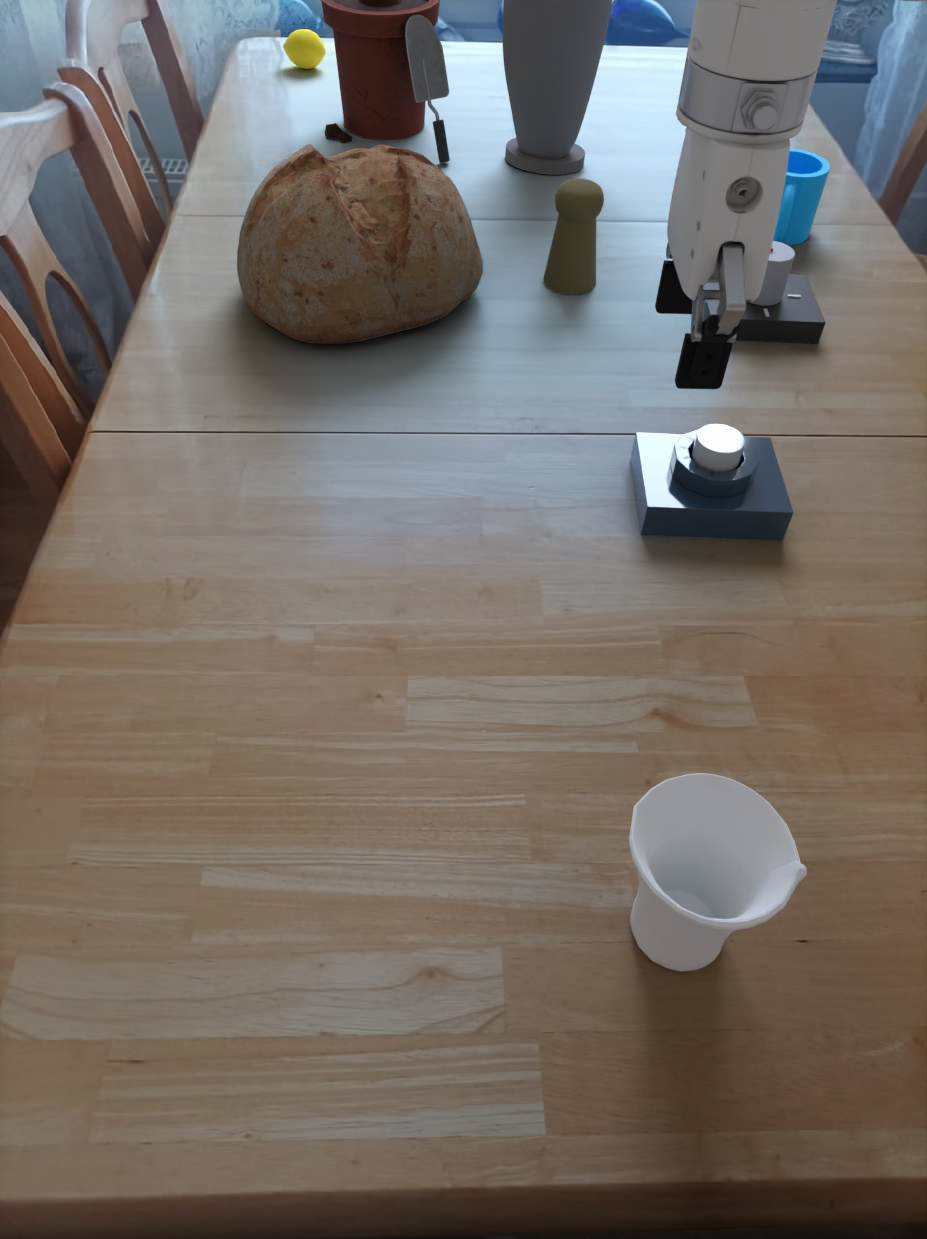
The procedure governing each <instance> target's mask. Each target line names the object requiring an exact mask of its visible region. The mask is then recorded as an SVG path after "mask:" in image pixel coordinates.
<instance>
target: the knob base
mask: <svg viewBox="0 0 927 1239" xmlns="http://www.w3.org/2000/svg"><path fill="white" fill-rule="evenodd" d="M703 290H719V283H706V284H705V286H703ZM718 306H719V303H705V306H704V321H705V320H706V319H707V318H708V317H709V316H710V315H712V314H713V315H716V314H717V308H718ZM740 321H741V322H740V323H739V325H741V326H740V329H739V330H738V331H737V336H736V340H735V341H747V342H748V341H752V342H772V343H773V342H775V343H794V344H795V343H797V344H800V343H801V344H819V343H820V340H821V337H822V335H823V332H824V329H825V326H826V323H827V322H826V320H825V317H824V315H823V313H822V311H821V308H820V306H819V304H818V301H817V299H816V297H815V294H814V292H813V289H812V287H811V285H810V282H809V280H808V278H807V276H806V274H795V273H789V277H788V280H787V283H786V286H785V290H784V293H783V296H782V299H781V301H780V302H779V303H777V304H775V305H770V306H761V305H755V304H752V303H749V302H747V301H746V310H745V313H744V315H743V317H742V318H741V320H740Z"/></svg>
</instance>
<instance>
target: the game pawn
mask: <svg viewBox="0 0 927 1239" xmlns="http://www.w3.org/2000/svg"><path fill="white" fill-rule="evenodd" d="M604 202H605V194H604V191H603V188H602V186H600V185H599V184H598V183H597V182H595V181H593V180H591V179H587V178H580V177H579V178H578V177H576V178H571V179H567V180H565V181H563V182H562V183H561V184H560V185H559V186H558V188H557V190H556V192H555V195H554V206H555V210H556V212H557V214H558V215H557V220H556V224H555V227H554V231H553V236H552V240H551V244H550V247H549V248H550V249H549V253H548V257H547V260H546V265H545V269H544V273H543V278H542V280H543V284H544V285H545V287H546V288H548V289H549V290H551V291H553V292H555V293H558V294H563V295H568V296H569V295H570V296H571V295H572V296H577V295H583V294H586V293H589V292H592V290H594V289H595V287H596V285H597V218H598V216H600V214H601V212H602V210H603V207H604V204H605V203H604Z"/></svg>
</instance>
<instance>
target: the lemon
mask: <svg viewBox="0 0 927 1239" xmlns="http://www.w3.org/2000/svg"><path fill="white" fill-rule="evenodd" d="M324 44H325V43H324V42H323V40H322V38H321V37H320V36H319V34H318V33H317V32H315V31H313V30H311V29H308V28H299V29H296V30H295V31H292V32H291V33H290V34H289V35H288V37H287V38H286V40H285V41H284V42H283V45H282V48H283V50H284V52H285V54H286V56H287V57H288V59H289V60H290V62H291V63H292V64H294V65H295V66H296V67H298V68H300V69H305V70H311V69H314V68H316V67H317V66H319V65H320V64H321V63H322V61H323V60H324V58H325V55H326V47H325V45H324Z"/></svg>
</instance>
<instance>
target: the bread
mask: <svg viewBox="0 0 927 1239" xmlns="http://www.w3.org/2000/svg"><path fill="white" fill-rule="evenodd" d="M473 225H474V224H473V221H472V218H471V216H470V214H469V211H468V209H467V206H466V203H465V201H464V199H463V196H462V195H461V193H460V191H459V189H458V188H457V186H456V184H455V183H454V181H453V180H452V179H451V177H450V176H448V175H446V174H445V173H444V171H443V170H441V169H440V168H439V167H438V166H437V165H436V164H435V163H433V162H432V161H431V160H430V159H428V157H426V156H425V155H423V154H421V153H418V152H417V151H414V150H411V149H408V148H403V147H395V146H391V145H386V144H377V145H375V146H373V147H370V148H366V147H364V148H363V147H362V148H353V149H350V150H346V151H343V152H339V153H336V154H333V155H330V156H326V155H325V154H324V153H322V152H320V151H319V150H318V149H316V148H315V147H314V146H313V144H311V143H309V144H308V143H307V144H306V145H303V146H302V147H300V148H299V150H297V151H295V152H294V153H293V154H291V155H289V156H288V157H287V158H285V159H284V160H282V161H281V162H279V163H278V164H276V165H275V166H273V168H272V169H271V170H270V171H269V172H268V174H267V175H266V176H265V177H264V178H263V180H262V181H261V182H260V184H259V185H258V186H257V188H256V189H255V191H254V193H253V195H252V197H251V199H250V200H249V203H248V206H247V208H246V211H245V213H244V217H243V220H242V223H241V227H240V230H239V237H238V244H237V250H236V251H237V252H236V271H237V277H238V282H239V286H240V289H241V293H242V296H243V298H244V300H245V302H246V303H247V305H248V307H249V308H250V310H251V311H252V313H253V314H254V315H255V317H257V318H259V319H260V320H261V321H262V322H264V323H266V324H267V325H269V326H270V327H272V328H274V329H276V330H277V331H279V332H281V333H282V334H284V335H286V337H287V336H288V337H289V338H291V339H294V340H297V341H300V342H303V343H307V344H321V345H322V344H323V345H330V344H331V345H341V344H349V343H358V342H360V341H366V340H371V339H372V340H373V339H375V338H380V337H382V336H383V337H384V336H387V335H391V334H395V333H398V332H402V331H406V330H412V329H414V328H415V329H416V328H420V327H422V326H425V325H428V324H431V323H433V322H435V321H438V320H440V319H443V318H444V317H446V316H447V315H449V313H451V312H452V311H453V310H454V309H455V308H457V307H458V306H459V304H460V303H462V302H463V301H465V300H468V299H470V297H471V296H472V295H473V294H474V293H475V291H476V290H477V289H478V287H479V285H480V283H481V280H482V278H483V274H484V261H483V260H484V259H483V256H482V253H481V250H480V246H479V243H478V239H477V236H476V234H475V229H474V226H473Z"/></svg>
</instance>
